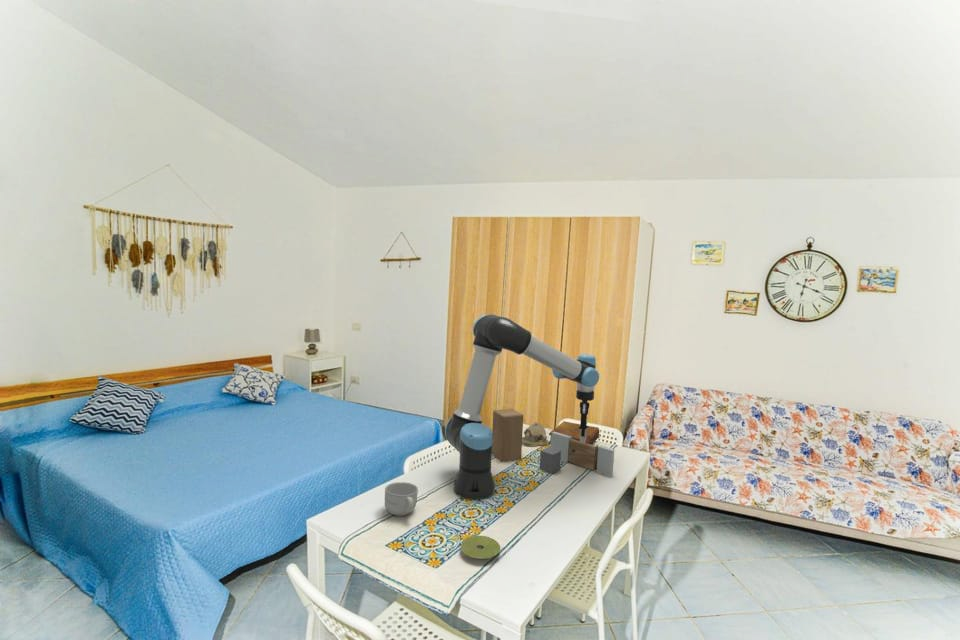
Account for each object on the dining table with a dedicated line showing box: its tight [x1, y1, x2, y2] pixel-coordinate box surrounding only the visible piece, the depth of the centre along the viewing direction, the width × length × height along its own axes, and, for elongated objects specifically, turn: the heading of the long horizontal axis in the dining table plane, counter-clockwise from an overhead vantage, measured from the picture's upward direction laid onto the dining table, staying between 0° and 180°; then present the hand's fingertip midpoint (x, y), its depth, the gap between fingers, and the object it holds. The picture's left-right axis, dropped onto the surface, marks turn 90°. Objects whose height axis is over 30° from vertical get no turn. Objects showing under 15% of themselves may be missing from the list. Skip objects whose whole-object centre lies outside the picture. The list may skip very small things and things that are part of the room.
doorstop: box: [539, 446, 561, 474], centre depth 190 cm, size 6×6×8 cm
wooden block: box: [491, 408, 524, 463], centre depth 202 cm, size 10×10×20 cm
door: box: [568, 439, 599, 472], centre depth 194 cm, size 2×13×11 cm, turn 47°
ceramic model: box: [522, 422, 550, 447], centre depth 221 cm, size 14×11×10 cm
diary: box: [548, 420, 600, 445], centre depth 227 cm, size 23×19×6 cm
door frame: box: [550, 431, 615, 478], centre depth 195 cm, size 2×29×11 cm, turn 47°
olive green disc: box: [460, 535, 501, 559], centre depth 130 cm, size 11×11×2 cm
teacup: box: [384, 481, 419, 517], centre depth 150 cm, size 14×11×8 cm
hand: (582, 442), depth 202 cm, fingers closed
